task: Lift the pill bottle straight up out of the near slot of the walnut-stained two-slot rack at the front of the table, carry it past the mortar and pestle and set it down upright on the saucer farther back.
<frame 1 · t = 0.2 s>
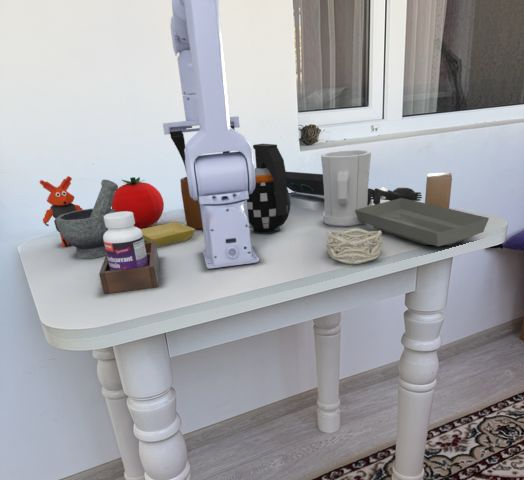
hand: (207, 170, 98), 10 cm above the table, tool pointing down, fingers open, 7 cm apart
grey tray: (417, 212, 79), point 4 cm above the table
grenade: (269, 232, 91), on the table
gaming controller: (365, 194, 105), point 2 cm above the table, touching figurine
wooden block: (435, 222, 87), on the table
mortar and pestle: (99, 253, 88), on the table
toy animal: (73, 245, 94), on the table
tomato: (142, 228, 102), on the table
smart home device: (283, 181, 123), point 3 cm above the table, touching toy
mug: (215, 224, 100), on the table
figurine: (398, 200, 101), point 1 cm above the table, touching cup, gaming controller
rack: (133, 274, 74), on the table
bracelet: (383, 244, 72), point 2 cm above the table
saucer: (166, 241, 91), on the table
cup: (347, 223, 92), on the table, touching figurine
pill bottle: (132, 283, 71), resting in rack
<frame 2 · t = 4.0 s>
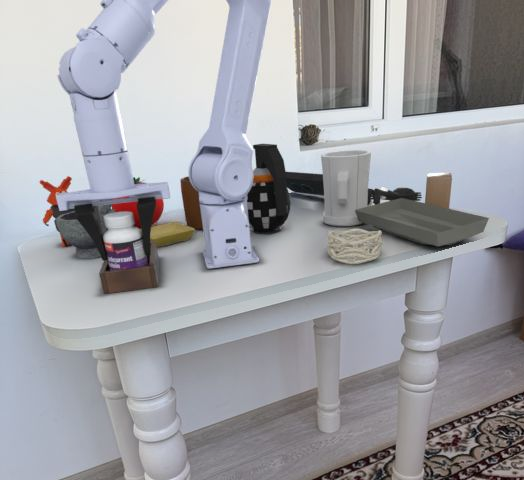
hand: (127, 255, 69), 4 cm above the table, tool pointing down, fingers closed on pill bottle, 5 cm apart
pill bottle: (132, 283, 71), resting in rack, touching gripper
everything else where it was.
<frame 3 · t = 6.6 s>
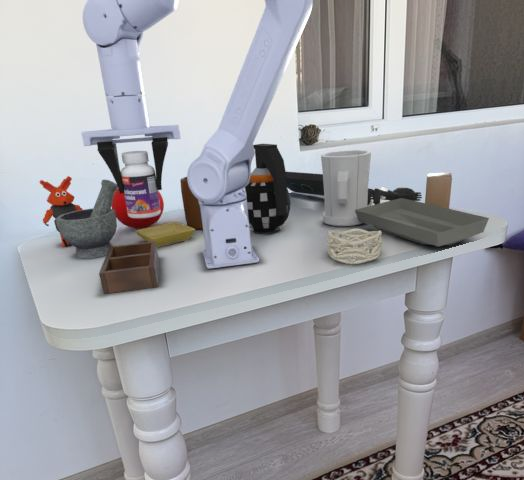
hand: (141, 190, 79), 10 cm above the table, tool pointing down, fingers closed on pill bottle, 5 cm apart
pill bottle: (145, 216, 81), point 6 cm above the table, touching gripper
everything else where it was.
when the fingers open (6 cm above the table, at t = 9.0 s): pill bottle stays where it is, resting on saucer.
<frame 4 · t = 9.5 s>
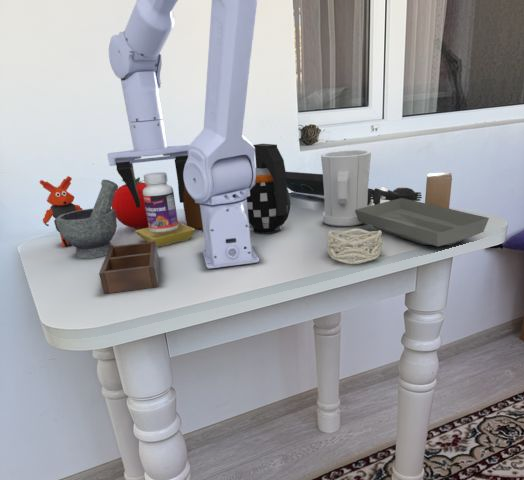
hand: (160, 204, 88), 7 cm above the table, tool pointing down, fingers open, 7 cm apart
saucer: (166, 241, 91), on the table, touching pill bottle
pill bottle: (164, 230, 90), point 2 cm above the table, touching saucer
everything else where it was.
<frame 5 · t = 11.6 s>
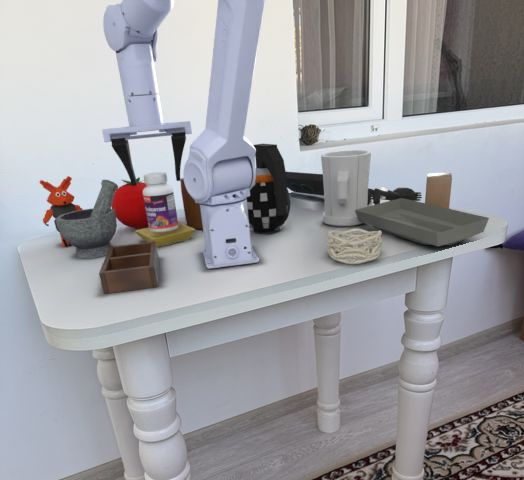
hand: (156, 182, 86), 10 cm above the table, tool pointing down, fingers open, 7 cm apart
nothing on the table moved.
at the end: pill bottle 0.1 cm off-centre on the saucer, point 2.1 cm above the saucer's base; pill bottle tilted 0° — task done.
